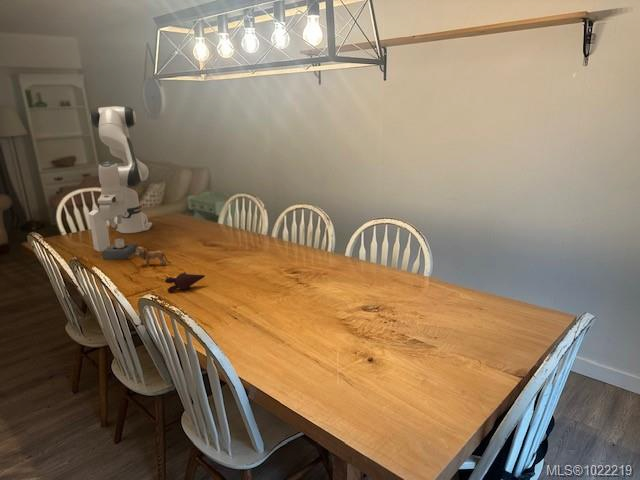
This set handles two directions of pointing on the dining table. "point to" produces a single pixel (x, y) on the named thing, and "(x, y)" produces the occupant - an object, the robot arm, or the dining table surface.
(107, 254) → the jig
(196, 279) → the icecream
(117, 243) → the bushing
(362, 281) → the dining table surface
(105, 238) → the milk
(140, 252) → the lion figurine
